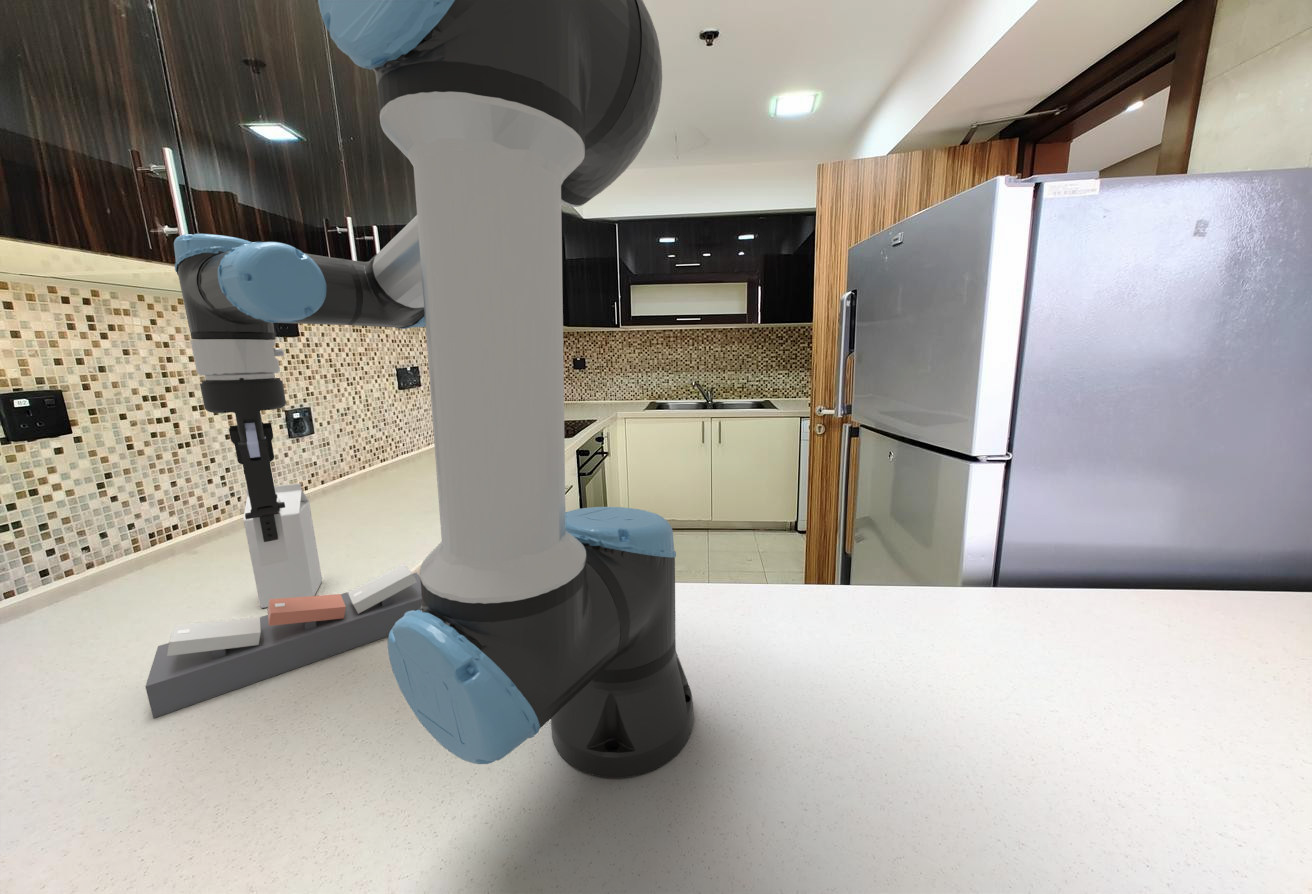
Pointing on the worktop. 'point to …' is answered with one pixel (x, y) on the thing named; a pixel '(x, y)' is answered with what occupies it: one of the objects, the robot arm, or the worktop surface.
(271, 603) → the rocker red
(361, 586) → the grey rocker
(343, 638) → the dark grey switch base
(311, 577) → the milk carton
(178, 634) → the grey rocker
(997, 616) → the worktop surface
